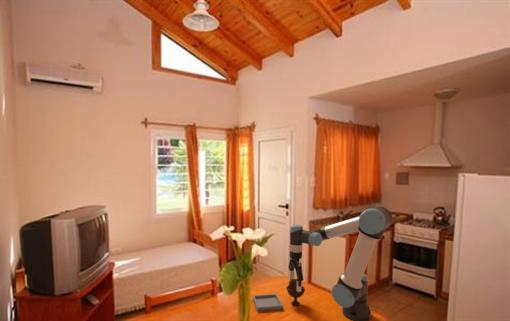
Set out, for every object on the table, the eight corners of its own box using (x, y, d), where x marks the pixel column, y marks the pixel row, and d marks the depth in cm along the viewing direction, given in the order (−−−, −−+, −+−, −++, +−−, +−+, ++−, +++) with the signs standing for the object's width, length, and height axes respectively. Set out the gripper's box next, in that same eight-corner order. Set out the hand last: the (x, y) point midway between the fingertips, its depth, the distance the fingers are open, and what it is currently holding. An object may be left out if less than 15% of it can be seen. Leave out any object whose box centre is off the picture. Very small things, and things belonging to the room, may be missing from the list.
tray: (282, 309, 157) (282, 305, 157) (257, 312, 154) (257, 307, 154) (276, 297, 172) (276, 293, 172) (252, 299, 169) (252, 295, 169)
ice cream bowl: (304, 309, 158) (304, 283, 159) (285, 307, 160) (285, 281, 161) (305, 300, 168) (305, 276, 169) (286, 298, 171) (287, 274, 171)
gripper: (283, 245, 177) (283, 278, 176) (296, 257, 153) (296, 296, 152) (295, 244, 178) (294, 277, 178) (309, 257, 154) (308, 295, 153)
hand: (295, 286), depth 165 cm, fingers open, 13 cm apart
